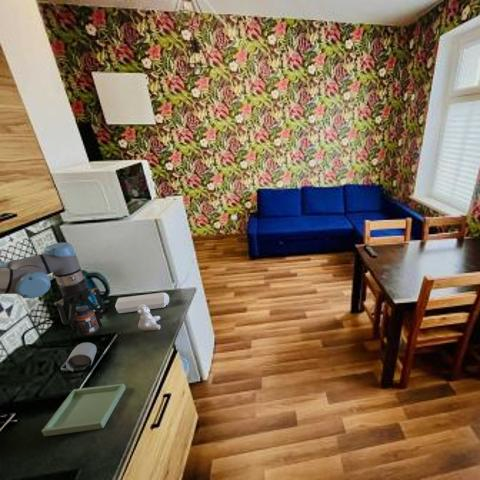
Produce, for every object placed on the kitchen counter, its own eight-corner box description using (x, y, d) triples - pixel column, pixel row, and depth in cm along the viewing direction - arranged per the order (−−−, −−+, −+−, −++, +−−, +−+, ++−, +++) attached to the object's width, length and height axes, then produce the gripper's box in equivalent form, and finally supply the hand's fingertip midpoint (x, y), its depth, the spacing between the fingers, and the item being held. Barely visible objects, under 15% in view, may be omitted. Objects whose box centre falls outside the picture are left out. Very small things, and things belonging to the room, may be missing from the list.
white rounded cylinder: (109, 311, 125) (166, 303, 131) (113, 297, 129) (167, 290, 135) (117, 317, 131) (170, 309, 137) (120, 303, 135) (172, 296, 141)
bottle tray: (44, 436, 78) (41, 431, 77) (75, 394, 90) (73, 389, 90) (103, 428, 80) (100, 423, 80) (125, 388, 93) (124, 383, 92)
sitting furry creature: (161, 330, 120) (154, 308, 115) (138, 336, 116) (131, 314, 111) (160, 317, 127) (155, 296, 122) (139, 323, 123) (133, 302, 119)
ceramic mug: (100, 352, 107) (93, 337, 104) (95, 367, 101) (88, 352, 98) (66, 362, 103) (58, 347, 100) (59, 378, 96) (50, 362, 93)
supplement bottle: (98, 332, 110) (90, 310, 105) (79, 337, 107) (70, 314, 103) (100, 324, 114) (92, 302, 110) (83, 328, 112) (74, 306, 107)
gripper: (40, 296, 93) (63, 347, 101) (105, 275, 107) (120, 321, 116) (35, 289, 97) (57, 339, 105) (98, 269, 111) (113, 314, 120)
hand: (90, 329), depth 110 cm, fingers closed on supplement bottle, 6 cm apart
